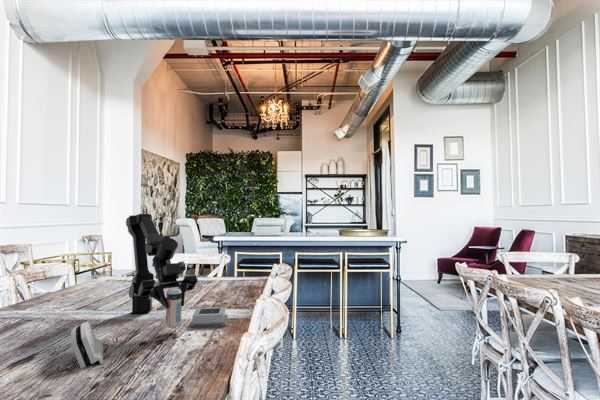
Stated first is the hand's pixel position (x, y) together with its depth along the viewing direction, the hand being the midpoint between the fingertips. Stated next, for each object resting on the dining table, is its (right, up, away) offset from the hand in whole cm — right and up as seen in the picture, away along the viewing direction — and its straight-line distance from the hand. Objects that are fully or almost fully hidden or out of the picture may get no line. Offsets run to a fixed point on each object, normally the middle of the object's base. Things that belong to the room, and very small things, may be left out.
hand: (175, 306), depth 124 cm
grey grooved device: (-18, -9, -20) cm, 28 cm away
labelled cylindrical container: (-1, -7, +1) cm, 7 cm away
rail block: (+8, -9, +12) cm, 17 cm away
